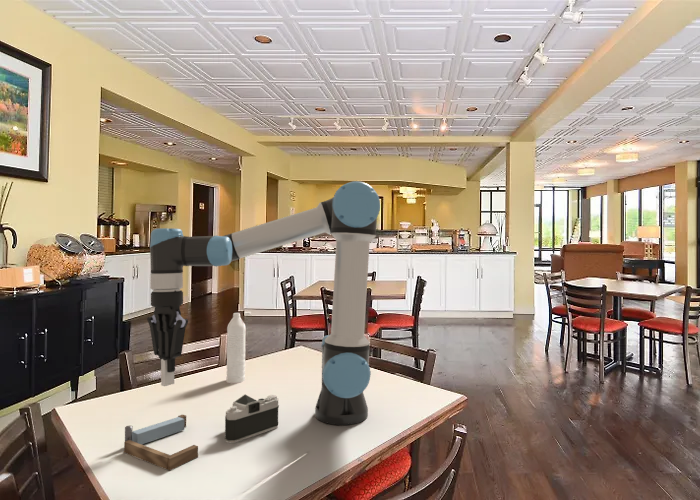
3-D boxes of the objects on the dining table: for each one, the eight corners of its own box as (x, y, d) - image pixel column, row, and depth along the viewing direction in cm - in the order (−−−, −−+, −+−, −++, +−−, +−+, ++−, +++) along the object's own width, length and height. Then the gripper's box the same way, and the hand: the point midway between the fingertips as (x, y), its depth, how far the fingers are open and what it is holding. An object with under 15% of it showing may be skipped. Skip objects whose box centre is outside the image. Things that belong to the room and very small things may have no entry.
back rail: (171, 467, 97) (172, 455, 97) (167, 469, 96) (167, 458, 96) (129, 450, 105) (129, 439, 105) (124, 452, 103) (124, 441, 104)
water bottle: (230, 386, 156) (231, 314, 157) (223, 381, 162) (224, 312, 162) (253, 382, 162) (254, 312, 162) (246, 377, 167) (247, 310, 167)
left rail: (197, 457, 102) (198, 446, 102) (169, 470, 95) (170, 458, 95) (193, 455, 102) (193, 444, 102) (165, 468, 96) (165, 457, 96)
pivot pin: (133, 447, 106) (133, 426, 106) (127, 450, 105) (127, 428, 105) (129, 445, 107) (129, 425, 107) (123, 448, 106) (123, 427, 106)
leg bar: (137, 445, 106) (137, 434, 106) (131, 443, 108) (132, 431, 108) (184, 429, 116) (184, 419, 116) (178, 427, 118) (178, 416, 118)
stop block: (186, 426, 119) (186, 415, 119) (181, 428, 118) (181, 417, 118) (182, 425, 120) (182, 414, 120) (177, 427, 119) (178, 416, 119)
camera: (264, 418, 126) (264, 383, 126) (283, 427, 120) (284, 389, 120) (213, 435, 114) (214, 396, 114) (232, 445, 108) (233, 403, 109)
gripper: (196, 289, 112) (197, 384, 112) (163, 288, 118) (164, 377, 118) (171, 292, 105) (171, 392, 105) (137, 290, 112) (138, 384, 112)
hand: (167, 384), depth 112 cm, fingers closed
